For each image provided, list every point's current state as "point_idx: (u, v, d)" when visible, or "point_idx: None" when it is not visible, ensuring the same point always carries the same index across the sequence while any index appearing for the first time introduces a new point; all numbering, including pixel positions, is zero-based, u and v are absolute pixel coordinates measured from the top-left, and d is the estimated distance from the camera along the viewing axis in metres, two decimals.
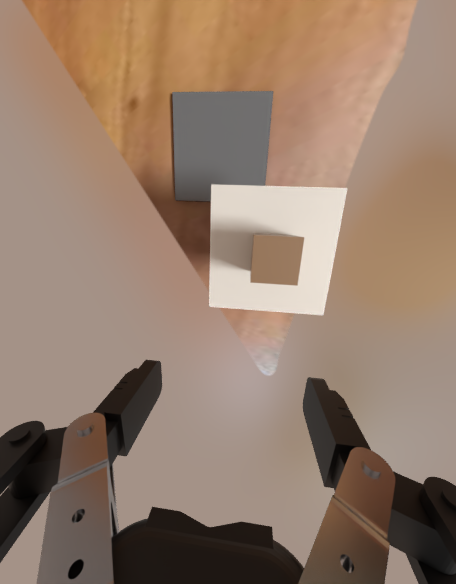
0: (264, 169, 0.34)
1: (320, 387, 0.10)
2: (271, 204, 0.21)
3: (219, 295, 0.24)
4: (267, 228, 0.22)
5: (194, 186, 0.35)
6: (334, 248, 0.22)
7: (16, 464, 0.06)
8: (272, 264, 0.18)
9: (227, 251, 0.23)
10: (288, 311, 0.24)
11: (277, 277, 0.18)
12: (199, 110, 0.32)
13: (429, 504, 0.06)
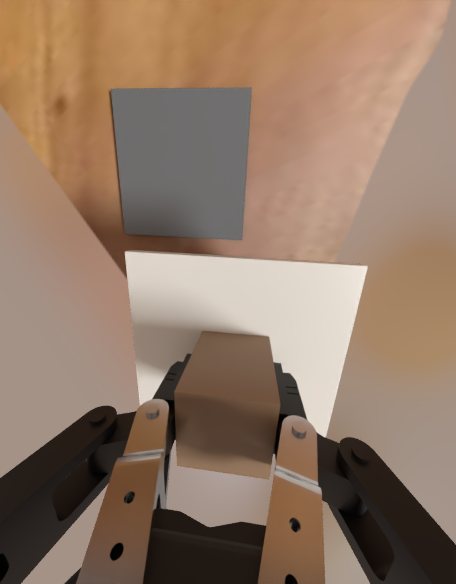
0: (242, 196, 0.24)
1: (275, 369, 0.11)
2: (231, 288, 0.12)
3: None
4: (226, 324, 0.13)
5: (148, 217, 0.26)
6: (342, 360, 0.12)
7: (89, 446, 0.07)
8: (217, 443, 0.09)
9: (162, 354, 0.14)
10: None
11: (228, 463, 0.09)
12: (149, 114, 0.23)
13: (345, 465, 0.07)
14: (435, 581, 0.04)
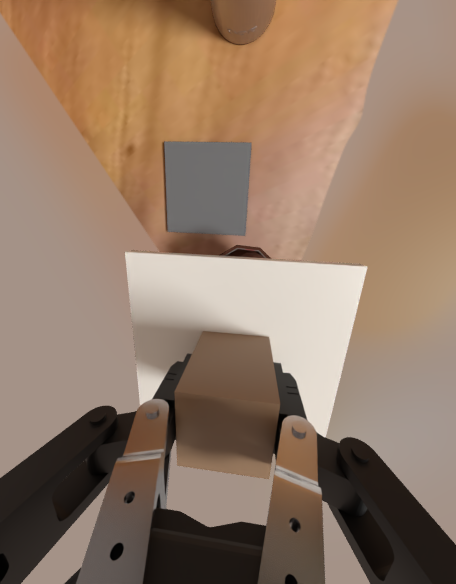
0: (245, 207, 0.38)
1: (275, 369, 0.11)
2: (231, 288, 0.12)
3: None
4: (226, 324, 0.13)
5: (184, 220, 0.40)
6: (341, 360, 0.12)
7: (89, 445, 0.07)
8: (217, 443, 0.09)
9: (162, 354, 0.14)
10: None
11: (228, 463, 0.09)
12: (187, 157, 0.37)
13: (345, 465, 0.07)
14: (435, 581, 0.04)
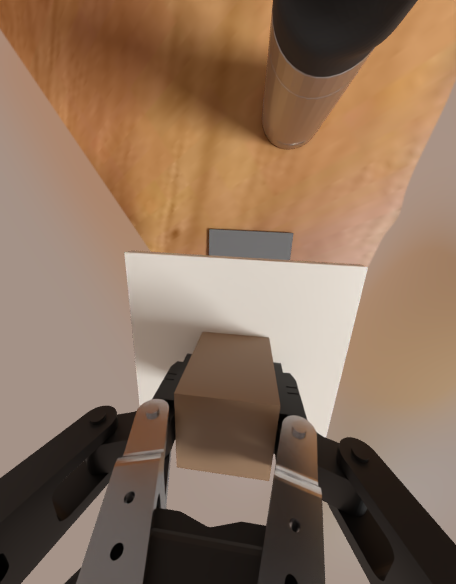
0: None
1: (275, 369, 0.11)
2: (231, 288, 0.12)
3: None
4: (226, 325, 0.13)
5: None
6: (342, 361, 0.12)
7: (89, 446, 0.07)
8: (216, 444, 0.09)
9: (162, 355, 0.14)
10: None
11: (227, 464, 0.09)
12: (231, 243, 0.39)
13: (345, 465, 0.07)
14: (435, 581, 0.04)
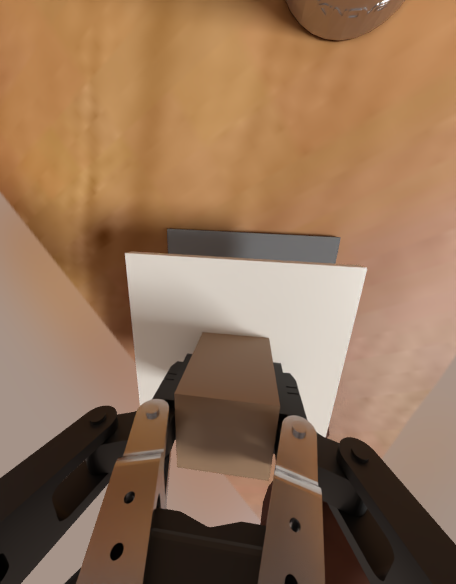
0: None
1: (275, 369, 0.11)
2: (231, 289, 0.12)
3: None
4: (226, 325, 0.13)
5: None
6: (341, 361, 0.12)
7: (89, 446, 0.07)
8: (217, 444, 0.09)
9: (162, 356, 0.14)
10: None
11: (228, 464, 0.09)
12: None
13: (345, 465, 0.07)
14: (435, 581, 0.04)
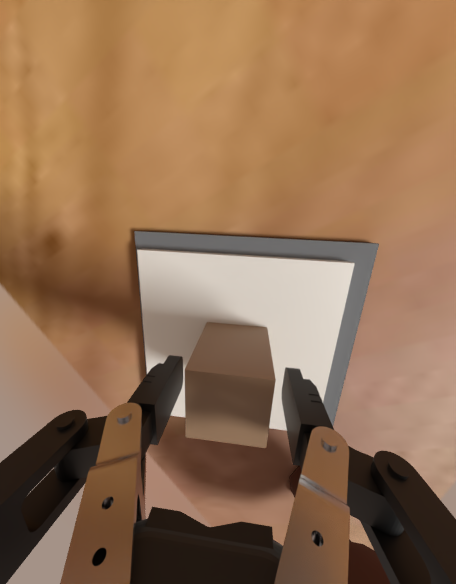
0: (338, 384, 0.15)
1: (295, 376, 0.11)
2: (232, 283, 0.13)
3: None
4: (228, 316, 0.14)
5: None
6: (332, 348, 0.14)
7: (59, 451, 0.07)
8: (220, 415, 0.10)
9: (170, 344, 0.15)
10: None
11: (230, 433, 0.10)
12: None
13: (379, 478, 0.06)
14: None
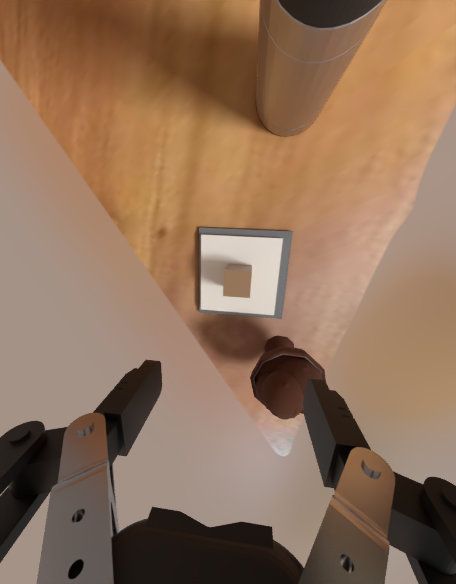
0: (283, 292, 0.36)
1: (320, 387, 0.10)
2: (238, 247, 0.34)
3: (207, 302, 0.37)
4: (236, 261, 0.35)
5: None
6: (277, 273, 0.35)
7: (17, 464, 0.06)
8: (235, 286, 0.31)
9: (211, 274, 0.36)
10: (251, 312, 0.37)
11: (238, 293, 0.31)
12: None
13: (429, 504, 0.06)
14: None
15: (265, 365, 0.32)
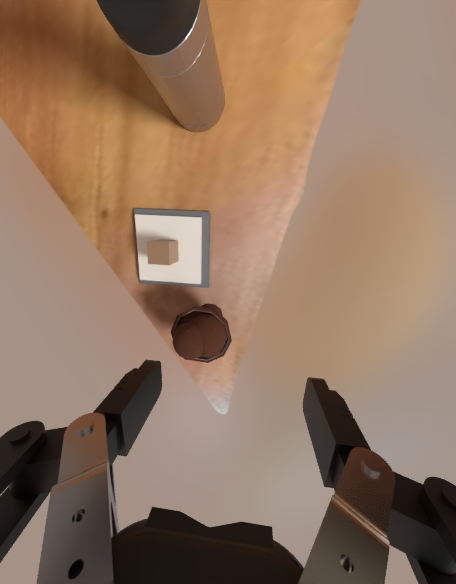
0: (207, 264, 0.43)
1: (320, 387, 0.10)
2: (165, 225, 0.41)
3: (144, 273, 0.44)
4: (165, 237, 0.41)
5: None
6: (200, 247, 0.41)
7: (16, 464, 0.06)
8: (156, 255, 0.37)
9: (146, 249, 0.42)
10: (181, 282, 0.44)
11: (159, 261, 0.38)
12: None
13: (429, 504, 0.06)
14: None
15: (182, 321, 0.38)
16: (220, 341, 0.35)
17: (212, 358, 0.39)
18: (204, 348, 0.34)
